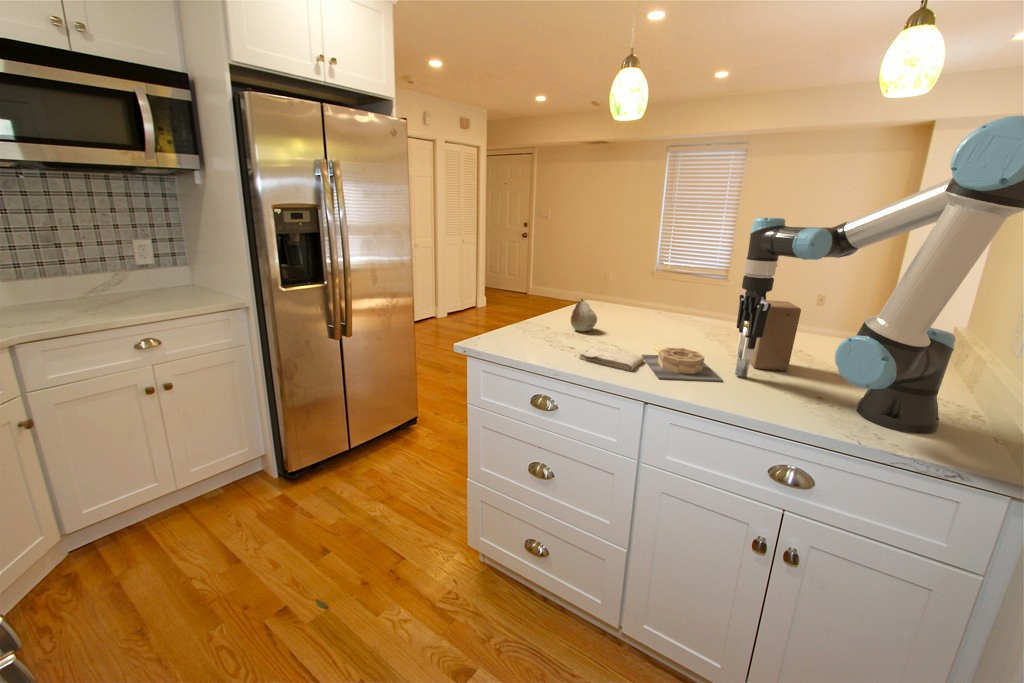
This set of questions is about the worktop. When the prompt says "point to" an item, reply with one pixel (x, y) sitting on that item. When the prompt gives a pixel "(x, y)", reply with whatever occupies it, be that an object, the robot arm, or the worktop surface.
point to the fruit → (583, 317)
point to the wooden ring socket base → (680, 365)
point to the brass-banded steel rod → (742, 363)
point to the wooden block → (777, 337)
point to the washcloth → (611, 358)
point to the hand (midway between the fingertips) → (744, 356)
